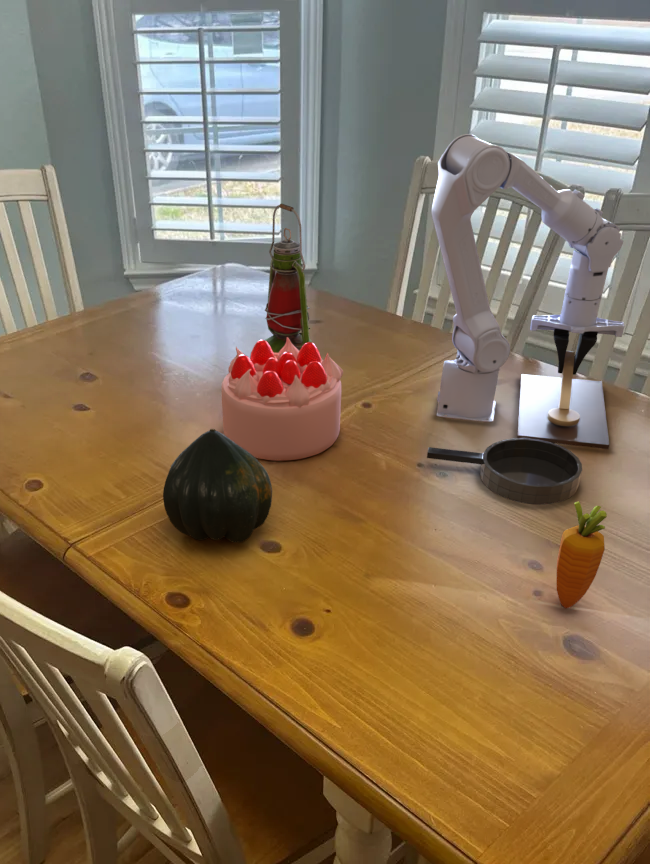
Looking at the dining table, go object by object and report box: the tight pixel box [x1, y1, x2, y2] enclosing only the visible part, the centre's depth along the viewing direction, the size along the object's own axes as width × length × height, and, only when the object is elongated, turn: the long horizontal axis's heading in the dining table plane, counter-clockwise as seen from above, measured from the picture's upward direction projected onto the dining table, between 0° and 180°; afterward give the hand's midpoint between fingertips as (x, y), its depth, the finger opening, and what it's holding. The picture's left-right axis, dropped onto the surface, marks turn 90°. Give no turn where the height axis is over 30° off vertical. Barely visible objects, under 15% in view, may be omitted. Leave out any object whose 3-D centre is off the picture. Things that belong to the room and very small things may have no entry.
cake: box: [220, 337, 344, 462], centre depth 135 cm, size 20×20×14 cm
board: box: [516, 373, 610, 450], centre depth 141 cm, size 14×24×1 cm, turn 163°
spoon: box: [548, 350, 580, 426], centre depth 138 cm, size 15×5×7 cm, turn 163°
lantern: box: [264, 203, 314, 353], centre depth 152 cm, size 14×11×30 cm
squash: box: [162, 428, 273, 543], centre depth 114 cm, size 14×15×15 cm
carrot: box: [556, 501, 608, 609], centre depth 96 cm, size 5×5×15 cm
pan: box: [479, 437, 583, 505], centre depth 123 cm, size 14×14×4 cm
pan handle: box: [426, 446, 484, 465], centre depth 125 cm, size 8×2×1 cm, turn 73°
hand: (566, 371), depth 142 cm, fingers closed on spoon
